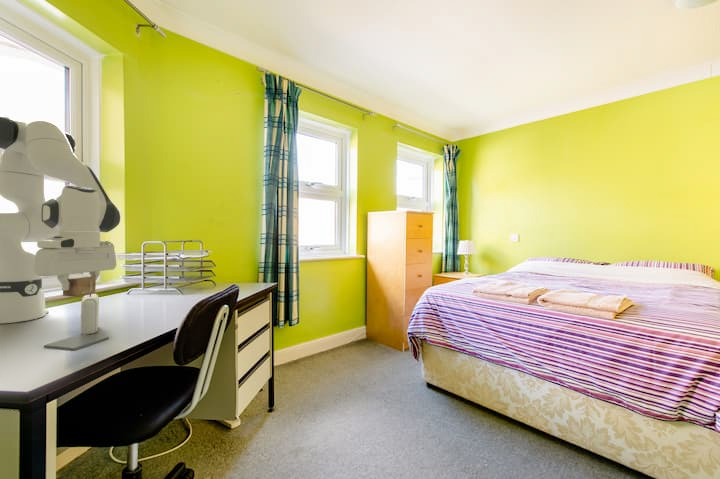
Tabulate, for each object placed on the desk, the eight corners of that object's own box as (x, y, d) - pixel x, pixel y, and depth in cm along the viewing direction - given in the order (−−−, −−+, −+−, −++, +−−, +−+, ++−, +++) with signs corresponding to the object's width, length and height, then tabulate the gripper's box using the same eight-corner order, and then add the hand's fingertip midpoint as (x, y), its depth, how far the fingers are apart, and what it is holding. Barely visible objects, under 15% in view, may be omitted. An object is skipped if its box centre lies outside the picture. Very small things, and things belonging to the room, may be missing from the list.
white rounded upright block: (82, 327, 103) (82, 291, 103) (98, 325, 106) (99, 290, 106) (79, 336, 95) (80, 296, 95) (97, 333, 98) (98, 295, 98)
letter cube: (62, 295, 87) (63, 278, 87) (81, 292, 92) (81, 276, 92) (78, 296, 87) (78, 279, 87) (95, 293, 92) (96, 277, 92)
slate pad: (43, 347, 85) (43, 345, 85) (81, 335, 95) (81, 334, 95) (73, 350, 84) (73, 348, 84) (108, 338, 94) (108, 336, 94)
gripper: (105, 240, 100) (104, 282, 100) (29, 241, 80) (28, 293, 80) (122, 241, 99) (121, 283, 99) (49, 242, 79) (48, 295, 79)
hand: (79, 288), depth 89 cm, fingers closed on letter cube, 5 cm apart
